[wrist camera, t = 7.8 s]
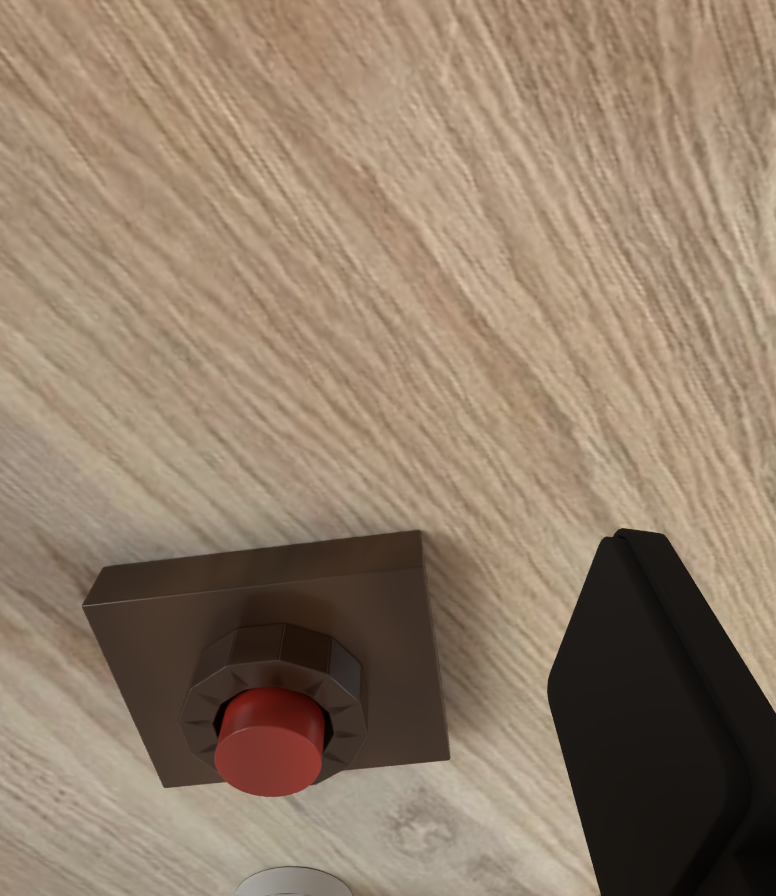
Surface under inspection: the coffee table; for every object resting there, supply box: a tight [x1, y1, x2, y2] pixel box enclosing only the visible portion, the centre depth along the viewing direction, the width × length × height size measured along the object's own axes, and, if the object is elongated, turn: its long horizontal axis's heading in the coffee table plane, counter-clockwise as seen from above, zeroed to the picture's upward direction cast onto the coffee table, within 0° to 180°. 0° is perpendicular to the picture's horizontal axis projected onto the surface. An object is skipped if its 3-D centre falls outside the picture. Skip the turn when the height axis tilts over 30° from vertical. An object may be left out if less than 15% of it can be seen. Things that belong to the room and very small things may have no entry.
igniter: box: [82, 530, 451, 788], centre depth 26 cm, size 12×10×4 cm
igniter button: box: [214, 686, 325, 797], centre depth 24 cm, size 4×4×2 cm
